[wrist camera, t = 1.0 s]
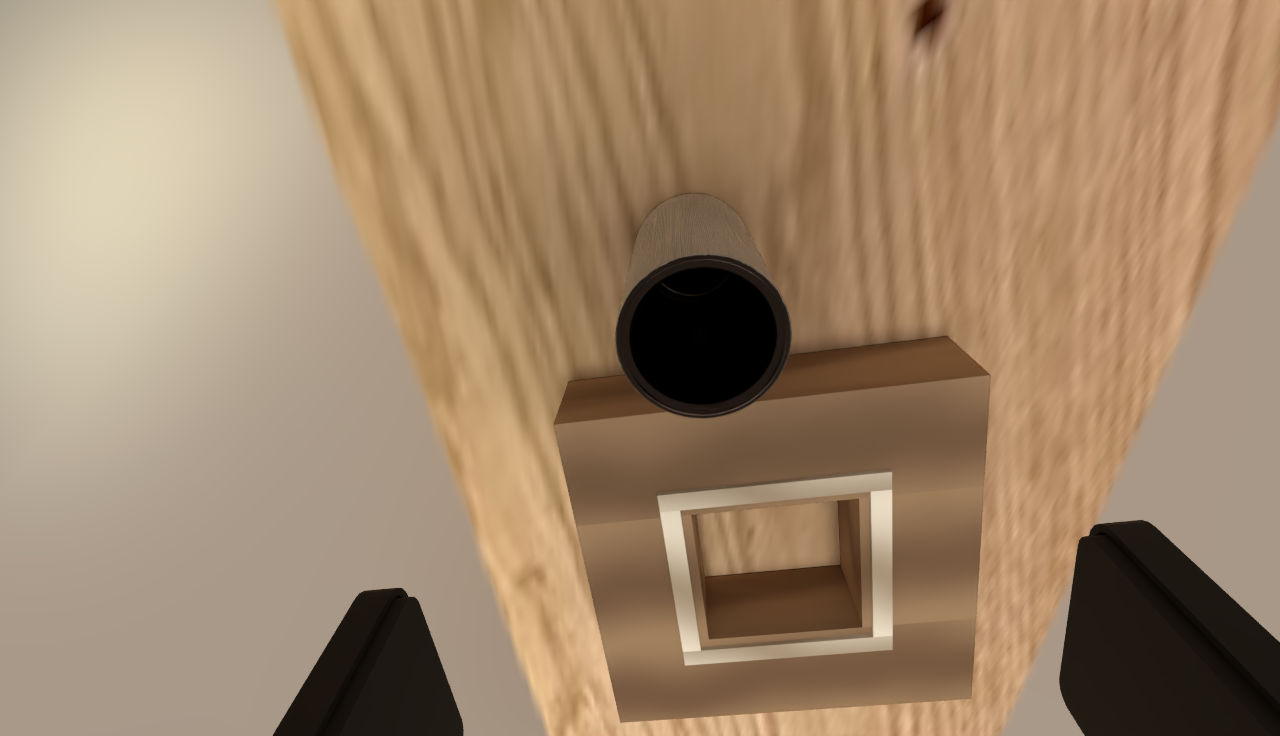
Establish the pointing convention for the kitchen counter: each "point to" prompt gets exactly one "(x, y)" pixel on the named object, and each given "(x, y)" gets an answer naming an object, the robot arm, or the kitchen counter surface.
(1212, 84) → the kitchen counter surface
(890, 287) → the kitchen counter surface
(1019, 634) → the kitchen counter surface
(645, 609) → the brown flat square frame
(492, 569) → the kitchen counter surface
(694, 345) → the grey hollow tube
